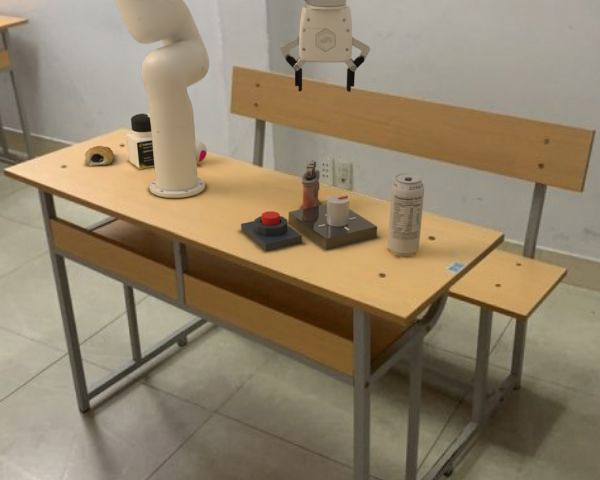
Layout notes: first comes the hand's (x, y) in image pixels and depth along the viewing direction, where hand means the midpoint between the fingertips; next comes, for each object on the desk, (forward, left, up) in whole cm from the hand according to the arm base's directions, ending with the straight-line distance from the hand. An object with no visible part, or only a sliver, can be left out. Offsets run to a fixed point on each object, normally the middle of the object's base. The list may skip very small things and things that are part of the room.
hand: (324, 89), depth 154 cm
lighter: (-3, -1, -26) cm, 27 cm away
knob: (+11, -3, -24) cm, 26 cm away
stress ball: (-42, -12, -26) cm, 51 cm away
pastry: (-55, -32, -26) cm, 69 cm away
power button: (+6, -15, -23) cm, 28 cm away
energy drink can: (+24, +4, -26) cm, 36 cm away
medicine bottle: (-48, -22, -26) cm, 59 cm away
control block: (+6, -15, -26) cm, 31 cm away
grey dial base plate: (+9, -3, -26) cm, 28 cm away
